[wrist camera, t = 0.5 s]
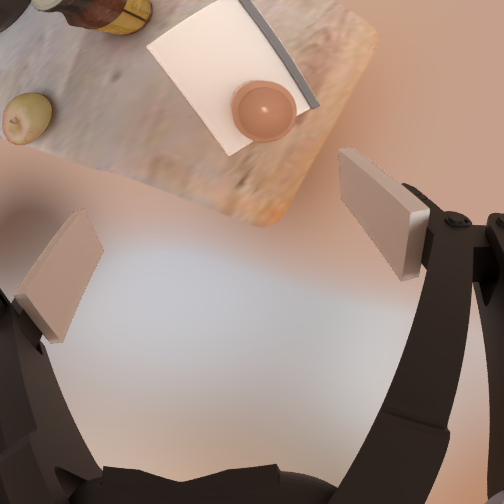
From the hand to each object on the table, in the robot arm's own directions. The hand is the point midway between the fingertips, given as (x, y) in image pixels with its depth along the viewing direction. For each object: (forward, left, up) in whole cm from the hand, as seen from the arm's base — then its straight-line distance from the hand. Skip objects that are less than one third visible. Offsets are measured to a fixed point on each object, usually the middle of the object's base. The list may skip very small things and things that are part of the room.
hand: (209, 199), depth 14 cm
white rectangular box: (-5, +5, -26) cm, 27 cm away
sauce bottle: (-20, -1, -27) cm, 33 cm away
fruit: (-19, -20, -27) cm, 38 cm away
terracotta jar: (0, +5, -24) cm, 24 cm away
